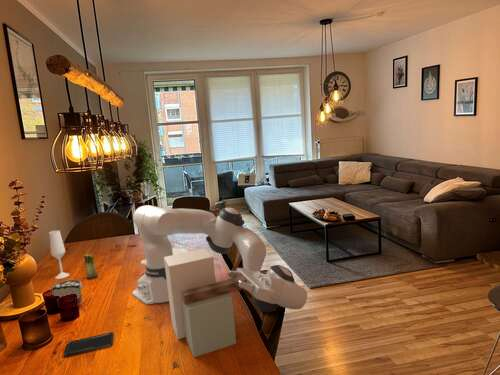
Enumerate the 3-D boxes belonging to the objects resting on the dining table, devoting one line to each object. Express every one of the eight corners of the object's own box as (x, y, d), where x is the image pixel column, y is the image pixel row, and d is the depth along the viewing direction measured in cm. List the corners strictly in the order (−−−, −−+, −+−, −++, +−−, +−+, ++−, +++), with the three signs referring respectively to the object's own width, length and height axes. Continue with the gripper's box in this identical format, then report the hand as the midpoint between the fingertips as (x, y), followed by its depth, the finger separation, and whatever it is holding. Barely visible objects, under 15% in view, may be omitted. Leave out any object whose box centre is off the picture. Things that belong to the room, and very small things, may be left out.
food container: (90, 299, 152) (86, 277, 150) (83, 306, 146) (80, 284, 144) (61, 301, 152) (57, 280, 150) (54, 309, 146) (50, 286, 144)
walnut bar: (243, 284, 118) (242, 275, 118) (247, 288, 115) (246, 279, 115) (182, 300, 110) (181, 291, 110) (184, 305, 107) (183, 295, 107)
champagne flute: (64, 272, 186) (57, 229, 182) (72, 274, 182) (64, 230, 178) (52, 277, 180) (44, 232, 176) (59, 279, 177) (51, 234, 173)
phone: (67, 342, 119) (113, 331, 124) (67, 345, 120) (114, 334, 124) (62, 355, 112) (112, 344, 116) (63, 359, 112) (112, 347, 116)
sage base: (226, 328, 121) (221, 285, 119) (236, 343, 112) (232, 297, 110) (186, 340, 116) (181, 295, 114) (193, 357, 107) (188, 309, 104)
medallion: (194, 260, 189) (194, 256, 189) (143, 271, 180) (142, 267, 179) (185, 248, 211) (185, 244, 211) (139, 257, 201) (139, 253, 201)
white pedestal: (211, 313, 132) (205, 248, 128) (220, 326, 123) (213, 256, 118) (172, 325, 126) (163, 257, 122) (177, 339, 117) (168, 266, 113)
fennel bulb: (86, 277, 177) (82, 254, 175) (96, 274, 180) (92, 252, 178) (88, 280, 173) (84, 257, 171) (98, 277, 176) (95, 254, 174)
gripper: (278, 310, 111) (241, 300, 105) (252, 286, 129) (220, 276, 124) (285, 292, 111) (249, 280, 105) (259, 270, 130) (227, 259, 124)
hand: (233, 277), depth 115 cm, fingers open, 8 cm apart
